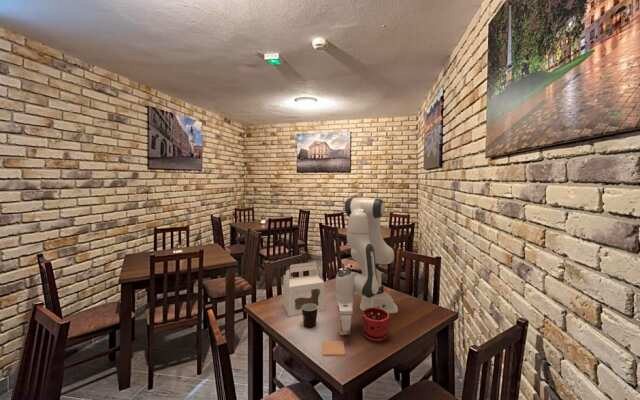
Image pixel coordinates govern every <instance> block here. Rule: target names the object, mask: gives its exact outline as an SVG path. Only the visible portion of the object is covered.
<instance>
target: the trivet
mask: <svg viewBox="0 0 640 400" xmlns="http://www.w3.org/2000/svg"><path fill="white" fill-rule="evenodd" d="M321 343H322V357H337V356H339V357H342V356H343V357H345V356H346V349H345V343H344V341H343V340H329V341H328V340H326V341H324V340H322V342H321Z"/></svg>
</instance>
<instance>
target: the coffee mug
mask: <svg viewBox="0 0 640 400" xmlns="http://www.w3.org/2000/svg"><path fill="white" fill-rule="evenodd" d="M317 309H318V306H317V305H315V304H305V305H303V306H302V314H301V315H302V320H303V321H302V322H303V327H304V328H305V329H313V328H315V327H316V324H317V316H318V312H317Z"/></svg>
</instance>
